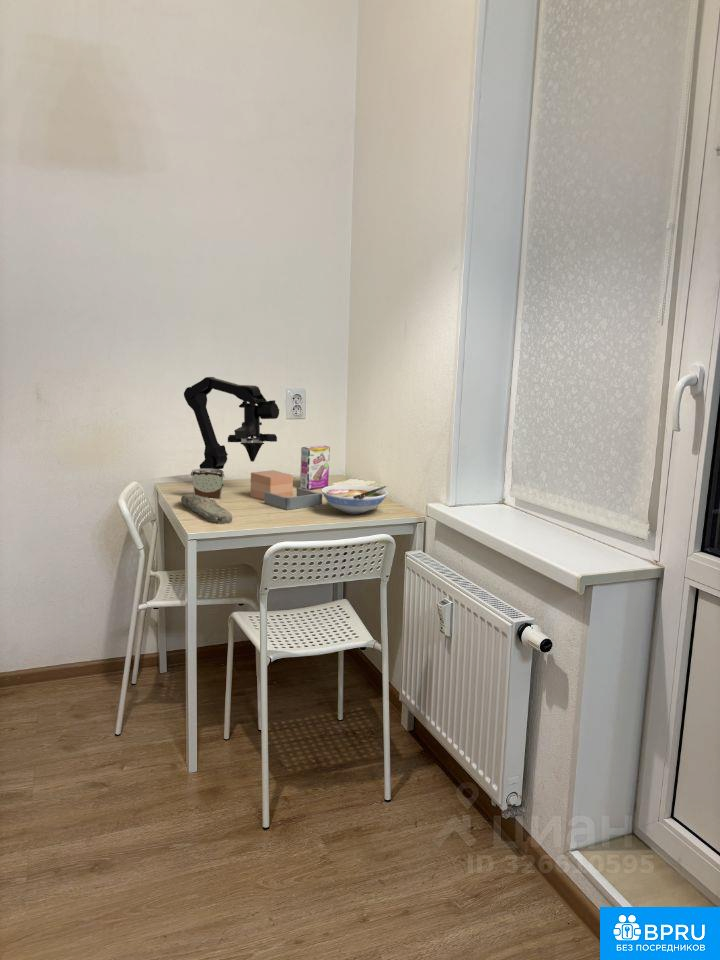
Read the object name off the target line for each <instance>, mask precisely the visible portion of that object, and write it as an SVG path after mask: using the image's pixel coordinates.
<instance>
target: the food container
mask: <svg viewBox="0 0 720 960" xmlns="http://www.w3.org/2000/svg"><path fill="white" fill-rule="evenodd" d="M190 477H192V486H193V495H198V496H202V497H208V498H213V499H212V500H221V499H222V492H223V491H222V487H223V486H222V484H223V479H224V478H225V477H226V476H225V473H224V470H223V469H200V468H197V469H196V468H195V469H192V470H191V473H190ZM220 498H221V499H220Z"/></svg>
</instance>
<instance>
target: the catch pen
mask: <svg viewBox="0 0 720 960" xmlns="http://www.w3.org/2000/svg"><path fill="white" fill-rule="evenodd" d="M265 503H266V504H265ZM264 504H265V505H269V504H270V505H269V506H272V505H273V506H272V507H275V506H276V507H275V508H278V507H279V509H281V510H285V509H286V510H285V511H290V510H289V509H292V510H296V508H298V509H303V507H305V508H310V507H317V506H322V505H323V493H320V492H317V491H314V490H313V491H312V490H306V489H302V488H300V487H296V496H293V497H289V498H287V497H284V496H280V495H277V494H273V493H270V492H265V501H264Z"/></svg>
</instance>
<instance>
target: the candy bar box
mask: <svg viewBox="0 0 720 960" xmlns="http://www.w3.org/2000/svg"><path fill="white" fill-rule="evenodd" d="M330 449H331V447H330V446H327V445H311V446H310V445H309V446H302V447H301V451H300V452H301V453H300V454H301V455H300V475H299V488H302V489H306V490H310V491H312V490H318V489H323V488H324V487H328V486H329V473H330V472H329V471H330V451H331V450H330Z"/></svg>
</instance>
